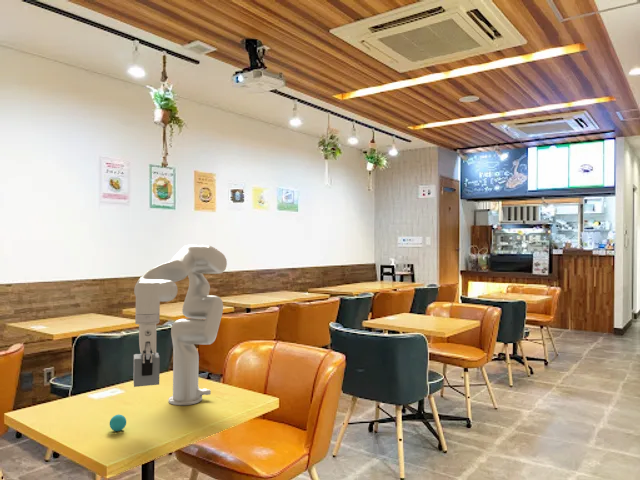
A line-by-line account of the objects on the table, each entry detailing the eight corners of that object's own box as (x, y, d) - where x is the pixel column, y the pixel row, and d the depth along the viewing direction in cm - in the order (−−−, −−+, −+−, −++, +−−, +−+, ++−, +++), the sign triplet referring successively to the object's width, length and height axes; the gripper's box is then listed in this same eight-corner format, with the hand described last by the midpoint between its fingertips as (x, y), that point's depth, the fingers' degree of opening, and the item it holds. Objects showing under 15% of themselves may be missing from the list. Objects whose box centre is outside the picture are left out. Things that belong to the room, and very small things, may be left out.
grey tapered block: (157, 378, 167) (157, 352, 167) (159, 384, 160) (159, 357, 160) (133, 380, 164) (133, 354, 164) (133, 386, 157) (134, 359, 157)
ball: (105, 419, 159) (114, 431, 160) (106, 424, 155) (115, 436, 156) (120, 409, 161) (128, 421, 162) (121, 413, 157) (130, 425, 158)
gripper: (161, 321, 156) (160, 377, 155) (157, 315, 172) (156, 365, 171) (136, 322, 153) (134, 379, 152) (134, 316, 169) (133, 367, 169)
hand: (146, 372), depth 162 cm, fingers closed on grey tapered block, 7 cm apart
